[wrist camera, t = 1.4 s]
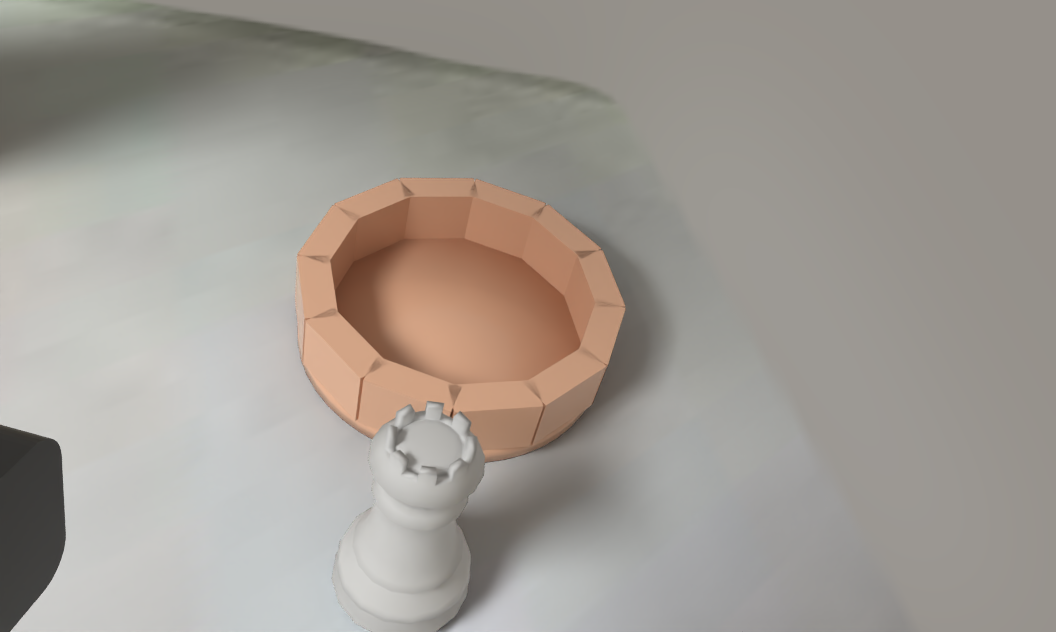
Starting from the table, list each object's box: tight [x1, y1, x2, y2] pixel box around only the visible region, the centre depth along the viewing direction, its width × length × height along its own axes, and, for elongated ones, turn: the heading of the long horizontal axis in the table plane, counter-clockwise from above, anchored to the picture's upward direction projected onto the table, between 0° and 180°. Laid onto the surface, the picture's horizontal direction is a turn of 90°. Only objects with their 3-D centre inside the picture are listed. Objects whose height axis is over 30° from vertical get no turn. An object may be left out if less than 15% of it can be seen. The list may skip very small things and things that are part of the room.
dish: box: [295, 178, 626, 462], centre depth 39 cm, size 12×12×3 cm
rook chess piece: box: [332, 401, 485, 632], centre depth 29 cm, size 4×4×8 cm
